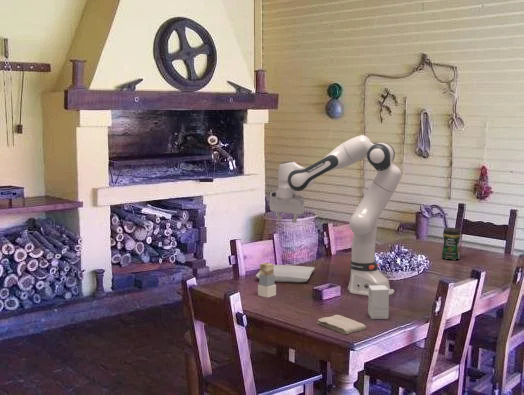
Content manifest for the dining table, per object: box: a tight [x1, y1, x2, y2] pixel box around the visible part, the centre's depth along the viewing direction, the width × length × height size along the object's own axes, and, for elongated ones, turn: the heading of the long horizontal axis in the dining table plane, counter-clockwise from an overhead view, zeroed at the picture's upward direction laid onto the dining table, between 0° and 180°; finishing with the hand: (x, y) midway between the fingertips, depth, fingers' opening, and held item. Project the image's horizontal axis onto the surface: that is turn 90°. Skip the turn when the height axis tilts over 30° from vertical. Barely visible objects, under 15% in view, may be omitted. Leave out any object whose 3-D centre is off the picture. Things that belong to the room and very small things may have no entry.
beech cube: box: [259, 262, 275, 276], centre depth 318 cm, size 4×4×5 cm
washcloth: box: [317, 314, 367, 335], centre depth 273 cm, size 12×18×3 cm, turn 37°
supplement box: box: [367, 285, 390, 320], centre depth 285 cm, size 7×7×13 cm
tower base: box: [257, 284, 277, 298], centre depth 319 cm, size 6×6×5 cm
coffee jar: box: [441, 227, 461, 260], centre depth 395 cm, size 10×8×19 cm
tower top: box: [258, 274, 276, 287], centre depth 318 cm, size 5×5×5 cm
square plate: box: [255, 264, 316, 284], centre depth 354 cm, size 27×27×4 cm
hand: (286, 221), depth 338 cm, fingers open, 8 cm apart
